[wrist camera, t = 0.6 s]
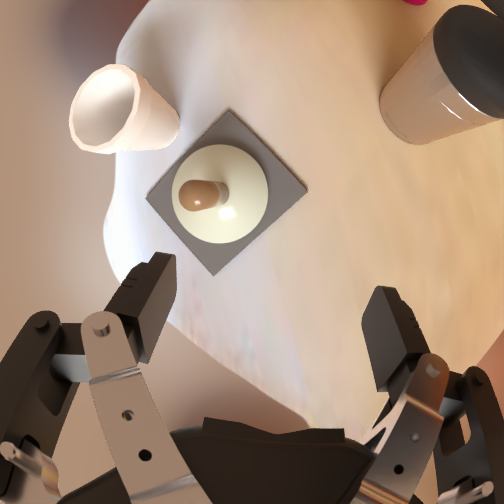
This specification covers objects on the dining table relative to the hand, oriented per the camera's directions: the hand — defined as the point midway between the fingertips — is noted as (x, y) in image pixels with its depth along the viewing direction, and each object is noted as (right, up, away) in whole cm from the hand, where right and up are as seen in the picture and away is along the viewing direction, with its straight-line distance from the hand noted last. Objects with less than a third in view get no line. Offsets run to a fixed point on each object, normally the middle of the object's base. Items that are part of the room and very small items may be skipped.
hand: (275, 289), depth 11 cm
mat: (-5, +9, +24) cm, 26 cm away
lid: (-5, +9, +24) cm, 26 cm away
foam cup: (-13, +18, +24) cm, 33 cm away
